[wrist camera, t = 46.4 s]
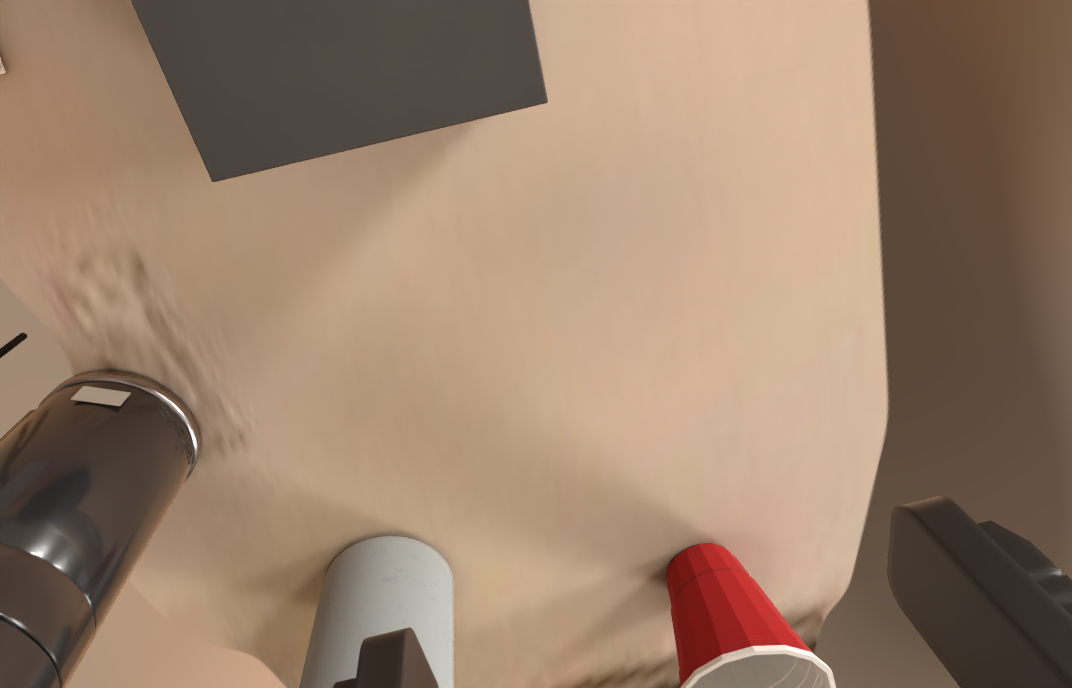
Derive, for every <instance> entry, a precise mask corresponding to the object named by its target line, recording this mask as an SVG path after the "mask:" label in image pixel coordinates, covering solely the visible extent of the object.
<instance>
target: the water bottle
mask: <svg viewBox="0 0 1072 688" xmlns="http://www.w3.org/2000/svg"><path fill="white" fill-rule="evenodd" d="M408 627H410V628H412V629H413V630H414V632H415V634H416V636H417V638H418V641H419V643H420V645H421V647H422V650H423V652H424V654H425V656H426V659H427V661H428V663H429V665H430V667H431V670H432V672H433V674H434V676H435V679H436V681H437V683H438V686H439V688H454V588H453V576H452V573H451V570H450V567H449V566H448V564H447V562H446V561H445V559H444V558H443V557H442V556H441V555H440V554H439V553H438V552H437V551H436V550H435V549H433V548H432V547H430V546H429V545H427V544H425V543H423V542H420V541H418V540H415V539H411V538H407V537H400V536H380V537H375V538H370V539H366V540H363V541H361V542H358V543H356V544H354V545H352V546H350V547H349V548H347V549H346V550H344V551H343V552H342V553H341V554H340V555H338V556H337V557H336V558H335V560H334V561H333V562H332V564H331V565H330V566H329V568H328V570H327V573H326V575H325V577H324V582H323V586H322V591H321V595H320V599H319V604H318V608H317V612H316V617H315V621H314V626H313V630H312V634H311V639H310V643H309V647H308V652H307V656H306V661H305V665H304V669H303V674H302V678H301V682H300V687H299V688H333V686H334V684H335V683H336V682H340V681H344V680H348V679H352V678H356V674H357V667H358V660H359V653H360V647H361V644H362V642H363V640H364V639H365V638H367V637H371V636H375V635H380V634H384V633H388V632H392V631H396V630H400V629H404V628H408Z"/></svg>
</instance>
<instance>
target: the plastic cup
mask: <svg viewBox="0 0 1072 688" xmlns="http://www.w3.org/2000/svg"><path fill="white" fill-rule="evenodd" d="M667 577H668V581H667V585H668V590H669V596H670V601H671V607H672V608H671V614H672V621H673V628H674V634H675V641H676V647H677V654H678V661H679V667H680V670H679V677H680V685H679V688H836V685H835V682H834V678H833V674H832V671H831V669H830V668H829V667H828V666H827V665H826V664H825V663H824V662H822V661H821V660H820V659H819V658H818V657H816V656H815V655H814V654H813V653H812V652H811V650H810V649H809V647H807V646H806V645H805V644H804V642H803V641H802V640H801V638H800V637H799V635H798V634H797V633H795V632H794V631H793V629H792V628H791V627H790V625H789V624H788V623H787V621H786V620H785V619H784V618H783V616H782V615H781V614H780V612H779V611H778V610H777V608H776V607H775V606H774V604H773V603H772V602H771V601H770V599H769V598H768V597H767V595H766V594H765V593H764V591H763V590H762V589H761V587H760V586H759V585H758V584H757V582H756V581H755V580H754V579H753V578H752V577H750V575H749V574H748V573H747V571H746V570H745V569H744V567H743V566H742V565H741V564H740V562H739V561H738V560H737V558H736V557H735V556H733V555H732V554H731V553H730V552H729V551H728V550H727V549H725V548H724V547H723V546H720V545H716V544H712V543H710V544H698V545H695V546H693V547H690V548H687V549H685V550H684V551H682V552H681V553H680V554H678V555H677V556H676V557H675V558H674V559H673V561H672V562H671V564H670V565H669V568H668V575H667Z"/></svg>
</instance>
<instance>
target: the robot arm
mask: <svg viewBox="0 0 1072 688" xmlns="http://www.w3.org/2000/svg"><path fill="white" fill-rule="evenodd" d="M26 338H27V334H25V333H20V334H19V335H18V336H16V337H15V338H14V339H12V340H11V341H10V342H8V343H7V344H6V345H4V346H3V347H2V348H0V358H1V357H3V356H4V355H5V354H7V353H8V352H9V351H11V350H12V349H13V348H14V347H16V346H17V345H18V344H20V343H21V342H22V341H24V340H25V339H26ZM201 447H202V438H201V432H200V428H199V426H198V423H197V421H196V419H195V417H194V415H193V414H192V412H191V411H190V410H189V408H188V407H187V406H186V405H185V404H184V402H183V401H182V400H181V399H179V398H178V397H177V396H176V395H175V394H173V393H172V392H171V391H169V390H168V389H166V388H165V387H163V386H161V385H160V384H158V383H156V382H154V381H151V380H149V379H147V378H144V377H141V376H138V375H134V374H130V373H125V372H118V371H95V372H89V373H84V374H80V375H77V376H75V377H72V378H70V379H68V380H66V381H64V382H63V383H61V384H60V385H59V386H58V387H57V388H55V389H54V390H53V391H52V392H51V393H50V394H49V395H48V396H47V397H46V398H45V399H44V400H43V401H42V402H41V403H40V405H39V407H38V408H37V409H36V410H32V411H30V412H29V413H27V415H25V416H24V417H23V418H22V419H21V420H20V421H19V422H18V423H17V424H16V425H15V426H14V427H13V428H12V429H10V430H9V431H8V432H7V433H6V434H5V435H4V436H3V437H2V438H1V439H0V688H66V686H67V684H68V683H69V681H70V679H71V678H72V676H73V674H74V672H75V670H76V669H77V667H78V665H79V664H80V662H81V660H82V658H83V657H84V655H85V653H86V651H87V650H88V648H89V646H90V644H91V643H92V640H93V639H94V637H95V635H96V633H97V632H98V630H99V628H100V626H101V625H102V623H103V621H104V619H105V618H106V616H107V614H108V613H109V611H110V609H111V607H112V606H113V604H114V602H115V600H116V599H117V597H118V595H119V594H120V592H121V590H122V588H123V587H124V585H125V583H126V581H127V580H128V578H129V576H130V575H131V573H132V571H133V569H134V568H135V566H136V564H137V562H138V561H139V559H140V557H141V555H142V554H143V552H144V550H145V549H146V547H147V545H148V543H149V542H150V540H151V538H152V536H153V535H154V533H155V531H156V529H157V528H158V526H159V524H160V522H161V521H162V519H163V517H164V516H165V514H166V512H167V510H168V509H169V507H170V505H171V503H172V502H173V500H174V498H175V497H176V495H177V493H178V491H179V490H180V488H181V486H182V484H183V483H184V482H185V481H186V479H187V478H188V477H189V475H190V474H191V472H192V470H193V469H194V467H195V465H196V463H197V461H198V459H199V456H200V453H201ZM887 573H888V579H889V584H890V587H891V589H892V592H893V595H894V597H895V599H896V601H897V603H898V604H899V606H900V607H901V609H902V611H903V612H904V613H905V615H906V616H907V617H908V619H909V620H910V621H911V623H912V624H913V625H914V627H915V628H916V629H917V631H918V632H919V633H920V634H921V636H922V637H923V638H924V640H925V641H926V643H927V644H928V645H929V646H930V648H931V649H932V650H933V652H934V653H935V654H936V656H937V657H938V658H939V660H940V661H941V662H942V664H943V665H944V666H945V668H946V669H947V670H948V672H949V673H950V674H951V676H952V677H953V678H954V679H955V681H956V682H957V684H958V685H959V686H960V687H961V688H1072V580H1071V579H1070V578H1069V577H1068V576H1067V575H1065V576H1064V575H1062V573H1061V571H1060V569H1059V568H1058V567H1057V566H1056V565H1055V564H1054V563H1053V562H1052V561H1050V560H1049V559H1048V558H1047V557H1046V556H1045V555H1044V554H1043V553H1042V552H1041V551H1040V550H1038V549H1037V548H1036V547H1035V546H1034V545H1033V544H1032V543H1031V542H1029V541H1028V540H1026V539H1024V538H1022V537H1020V536H1018V535H1016V534H1015V533H1013V532H1010V531H1009V530H1007V529H1005V528H1003V527H1002V526H1000V525H998V524H996V523H994V522H992V521H987V522H983V523H979V524H976V523H975V521H974V520H973V519H971V518H970V517H969V516H968V515H967V514H966V513H965V512H964V511H963V510H962V509H961V508H960V507H959V506H958V505H957V504H956V503H955V502H953V501H952V500H951V499H949V498H947V497H944V496H939V497H934V498H931V499H926V500H922V501H918V502H914V503H910V504H906V505H902V506H898V507H896V508H894V509H893V511H892V515H891V528H890V540H889V554H888V567H887ZM333 688H439V686H438V683H437V681H436V679H435V676H434V674H433V672H432V670H431V667H430V665H429V663H428V661H427V659H426V656H425V654H424V652H423V650H422V647H421V645H420V643H419V641H418V638H417V636H416V634H415V632H414V630H413V629H412V628H410V627H408V628H404V629H400V630H396V631H392V632H388V633H384V634H380V635H375V636H371V637H367V638H365V639H364V640H363V642H362V644H361V647H360V653H359V660H358V667H357V674H356V678H352V679H348V680H344V681H340V682H336V683H335V684H334V686H333Z"/></svg>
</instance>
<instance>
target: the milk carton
mask: <svg viewBox="0 0 1072 688" xmlns="http://www.w3.org/2000/svg"><path fill="white" fill-rule="evenodd" d="M3 73H5V68H4V66H3V63H2V61H1V58H0V74H3Z"/></svg>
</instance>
